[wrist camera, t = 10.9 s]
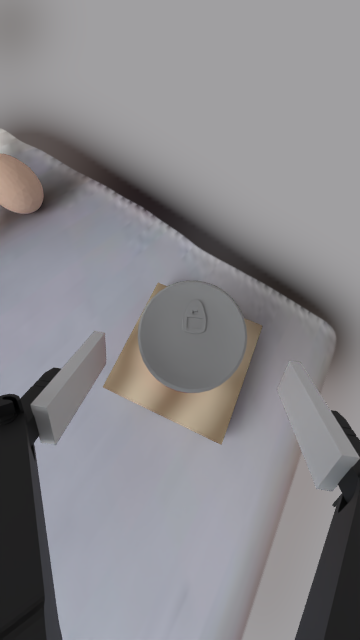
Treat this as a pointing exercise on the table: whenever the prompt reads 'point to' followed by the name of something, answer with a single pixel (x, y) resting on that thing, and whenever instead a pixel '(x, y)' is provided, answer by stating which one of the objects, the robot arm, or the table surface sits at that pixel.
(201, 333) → the canned food
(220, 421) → the maple stand
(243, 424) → the table surface
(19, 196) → the egg
